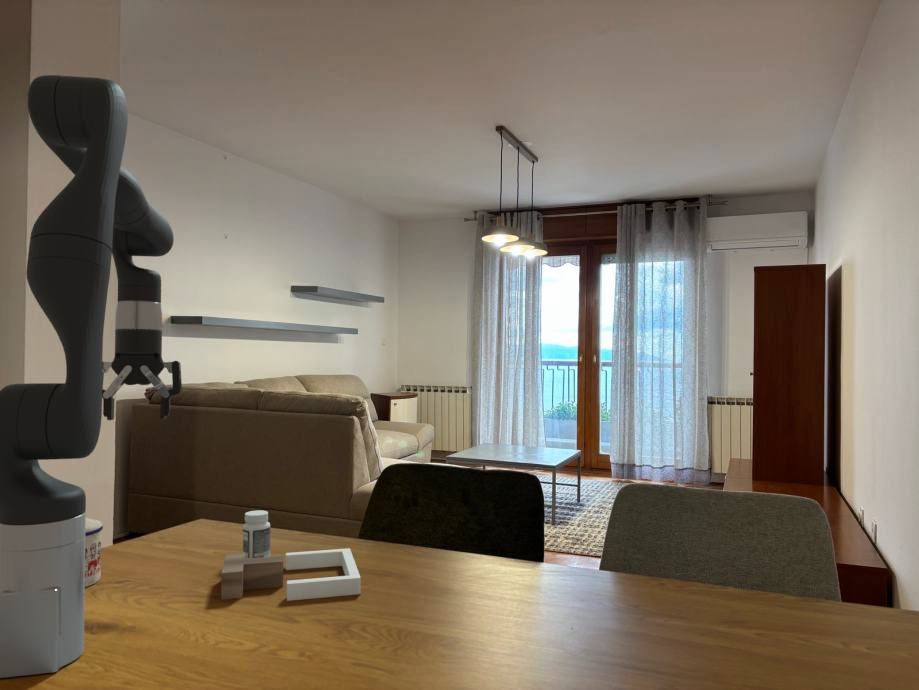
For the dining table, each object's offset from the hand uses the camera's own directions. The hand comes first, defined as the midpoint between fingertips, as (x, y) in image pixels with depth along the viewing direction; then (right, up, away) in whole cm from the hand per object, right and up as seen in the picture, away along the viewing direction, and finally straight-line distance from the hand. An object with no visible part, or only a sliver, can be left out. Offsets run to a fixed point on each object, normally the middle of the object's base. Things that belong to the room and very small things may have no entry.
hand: (137, 419), depth 118 cm
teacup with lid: (-5, -25, -10) cm, 28 cm away
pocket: (+34, -25, -9) cm, 43 cm away
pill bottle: (+21, -26, +2) cm, 33 cm away
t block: (+24, -25, -12) cm, 37 cm away
